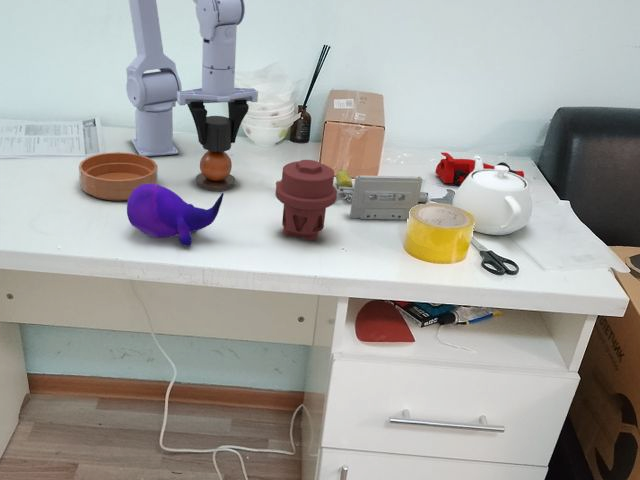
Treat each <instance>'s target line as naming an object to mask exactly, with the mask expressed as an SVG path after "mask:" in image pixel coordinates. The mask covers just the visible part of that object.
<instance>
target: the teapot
mask: <svg viewBox="0 0 640 480" xmlns="http://www.w3.org/2000/svg"><path fill="white" fill-rule="evenodd" d="M474 160H475V168H474V171H473V172H471V173H470V174H469V175H468V177H467V178H466V179H465V180H464V182H463V183H462V184H461V186H459V187H458V189H457V190H456V192H455V194H454V196H453V198H452V202H451V203H452V204H451V206H452V205H453V206H456V207H458V208H461V209H463V210H466V211H468V212H470V213H471V214H472V215H474V217H475V225H474V228H473V230H472V231H475V232H477V233H480V234H485V235H492V236H493V235H494V236H503V235H509V234H512V233H514V232H516V231H518V230H520V229H522V228H523V227H525V226H526V225H527V224H528V223H529V222H530V220H531V217H532V211H533V200H532V193H531V189H530V184H529V182H528V181H527V179H525V177H524V178H523V177H521V176H519V175H517V174H514V173H511V172H508V171H509V168H508V167H506V166H502V165H497V164H496V165H497V166H496V165H494V166H495V167H494V168H495V169H484V168H483V163H484V161H483V158H482V157H481V156H479V155H474Z"/></svg>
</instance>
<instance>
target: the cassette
mask: <svg viewBox="0 0 640 480" xmlns="http://www.w3.org/2000/svg"><path fill="white" fill-rule="evenodd" d="M423 181H424V180H423V178H422V176H409V175H408V176H407V175H405V176H404V175H355V177H354V184H353V188H354V190H353V196H352V201H351V204H350V211H349V216H350V218H351V219H361V220H410V219H409V211H410V209H411V208H412V207H414V206H416V205H419V202H418V201H419V196H420V192H421V190H422V185H423ZM380 193H393V197H392V198H391V197H379V195H380ZM372 194H374V195H373V196H370V195H372ZM401 194H402V196H401V197H398V196H399V195H401Z"/></svg>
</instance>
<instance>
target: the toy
mask: <svg viewBox="0 0 640 480" xmlns="http://www.w3.org/2000/svg"><path fill="white" fill-rule="evenodd" d="M224 195H225V194H224V192H221V194H220V196H219V197H218V198H217V200H216V201H215V203H214V204H213V205H212V206H211V207H210V208H208V209H205V208H202V207H197V206H195V205H193V204H192V203H187V202H186V201H185V200H183V198H182V197H181V196H180V195H178V194H177V193H176V192H174V191H172V190H171V189H169V188H167V187H165V186H163V185H159V184H158V185H156V184H143V185H140V186H138V187H137V188H135V189H134V190H133V192H132V193H131V195H130V197H129V200H127V204H126V215H127V219H128V221H129V224H130V225H131V226H132V227H134V228H136V229H137V230H138V231H139V232H140V233H142V234H144V235H146V236H150V237H152V238H156V239H165V238H166V239H167V238H172V237H176V236H178V240H179V243H180V244H181V245H182V246H184V247H190V245H191V244H192V243H193V238H192V236H191V233H193V232H196V231H199V230H202V229H204V228H206V227H209V226H210V225H212V224H213V223H214V221H215V220H216V218H217V217H218V214H219V211H220V208H221V205H222V202H223V199H224Z"/></svg>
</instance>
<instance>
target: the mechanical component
mask: <svg viewBox="0 0 640 480" xmlns="http://www.w3.org/2000/svg"><path fill="white" fill-rule="evenodd" d="M281 179H282V181H281V180H280V181H281V182H279V183H278V184H277V186H276V185H275V197H276V199H277V200H278V201H279V202H280V203H282V204H283V207H282V208H283V210H282V221H281V226H282V235H283V236H285V237H293V238H300V239H305V240H308V241H310V242H316V241H318V240H319V233H320V232H322V230H324V227H325V221H326V220H325V219H326V210H327V208H329V207H331V206H333V205H334V204H335V203H336V201H337V200H336V199H338V195H337V191H338V189H337V188H336V187H335V186H334V182H335V181H334V179H335V171H334V169H333V168H332V167H330V166H328V165H326V164H324V163H321V162H319V161H317V160H313V159H301V160H296V161H291V162H289V163H285V165H284V166H283V167H282V173H281Z"/></svg>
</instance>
